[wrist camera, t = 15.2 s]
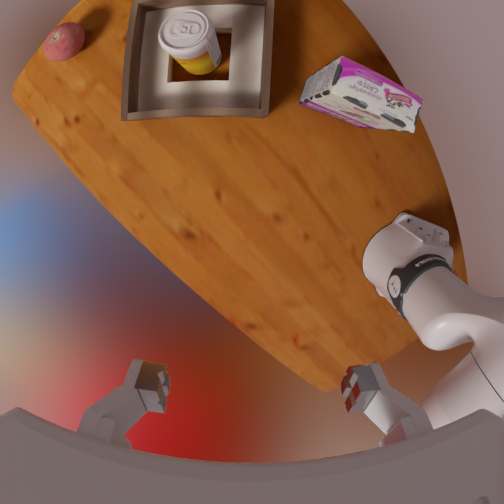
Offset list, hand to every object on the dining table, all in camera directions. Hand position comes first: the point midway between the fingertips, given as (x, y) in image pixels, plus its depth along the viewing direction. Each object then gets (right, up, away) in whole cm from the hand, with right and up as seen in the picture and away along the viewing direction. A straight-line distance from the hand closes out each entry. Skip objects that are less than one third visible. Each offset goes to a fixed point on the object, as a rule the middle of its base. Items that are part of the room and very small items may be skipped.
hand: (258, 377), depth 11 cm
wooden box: (-8, +35, +22) cm, 42 cm away
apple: (-32, +42, +18) cm, 56 cm away
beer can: (-8, +35, +22) cm, 42 cm away
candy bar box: (+13, +29, +26) cm, 41 cm away
